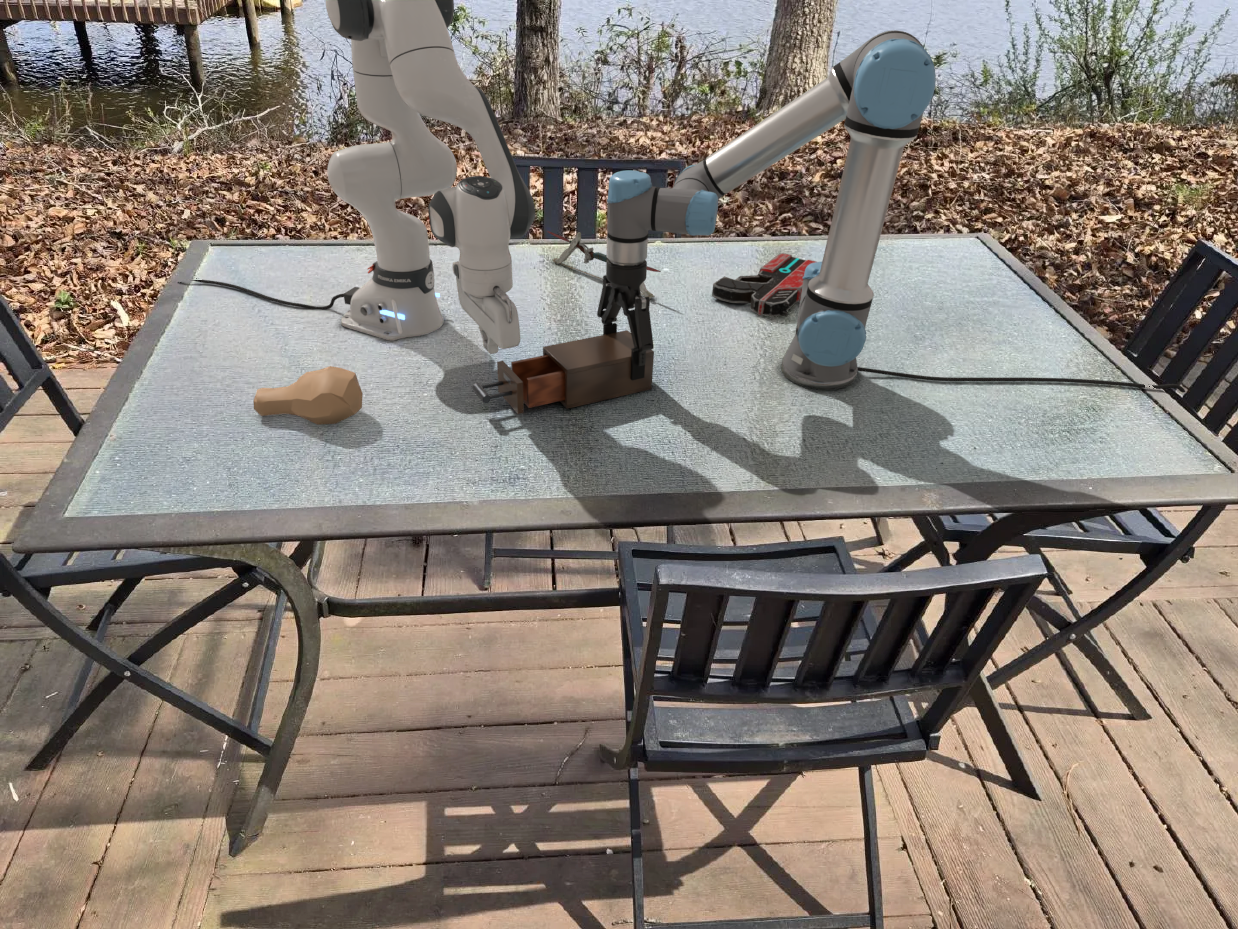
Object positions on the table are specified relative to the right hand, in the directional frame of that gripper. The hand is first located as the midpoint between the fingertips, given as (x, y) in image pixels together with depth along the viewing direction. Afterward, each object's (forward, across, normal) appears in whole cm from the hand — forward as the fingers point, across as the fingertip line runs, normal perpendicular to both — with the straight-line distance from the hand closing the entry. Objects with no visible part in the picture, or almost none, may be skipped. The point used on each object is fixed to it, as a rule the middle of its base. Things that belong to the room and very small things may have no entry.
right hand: (623, 366), depth 174 cm
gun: (+3, +25, -56) cm, 61 cm away
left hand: (-9, 0, +28) cm, 29 cm away
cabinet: (+3, 0, +6) cm, 7 cm away
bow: (+4, +49, -21) cm, 54 cm away
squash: (+4, +14, +58) cm, 60 cm away
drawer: (+2, 0, +19) cm, 19 cm away
